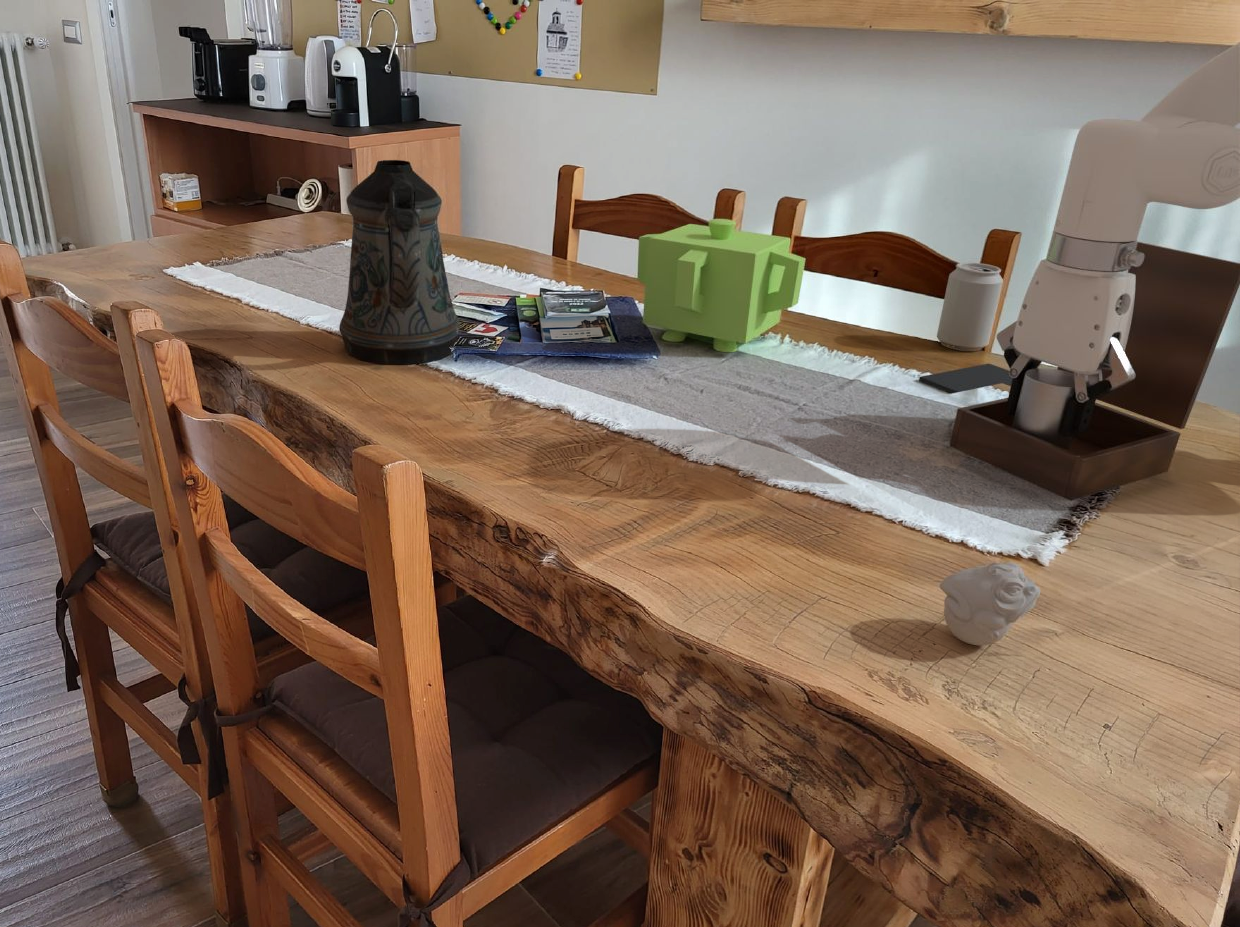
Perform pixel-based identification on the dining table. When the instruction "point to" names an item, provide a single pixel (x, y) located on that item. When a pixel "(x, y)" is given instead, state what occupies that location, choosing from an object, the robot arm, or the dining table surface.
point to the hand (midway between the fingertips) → (1044, 421)
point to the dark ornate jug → (397, 272)
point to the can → (970, 306)
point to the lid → (1173, 330)
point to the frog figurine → (987, 601)
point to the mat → (968, 378)
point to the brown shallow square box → (1091, 464)
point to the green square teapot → (717, 282)
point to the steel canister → (1045, 405)
